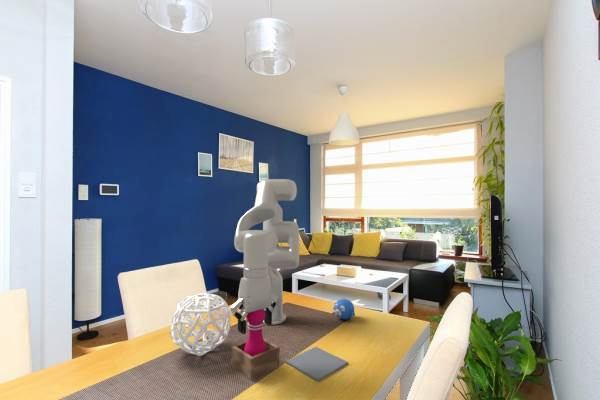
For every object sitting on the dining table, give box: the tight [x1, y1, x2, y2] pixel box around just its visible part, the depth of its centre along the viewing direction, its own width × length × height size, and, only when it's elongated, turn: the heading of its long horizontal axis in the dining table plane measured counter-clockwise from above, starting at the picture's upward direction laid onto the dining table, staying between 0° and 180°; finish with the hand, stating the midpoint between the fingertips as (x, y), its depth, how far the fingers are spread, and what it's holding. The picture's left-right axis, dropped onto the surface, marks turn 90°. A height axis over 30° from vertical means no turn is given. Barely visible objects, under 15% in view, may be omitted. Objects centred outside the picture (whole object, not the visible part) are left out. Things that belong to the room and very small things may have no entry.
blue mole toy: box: [331, 298, 356, 320], centre depth 132 cm, size 12×12×8 cm
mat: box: [285, 346, 349, 382], centre depth 96 cm, size 14×14×1 cm
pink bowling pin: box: [244, 309, 267, 357], centre depth 95 cm, size 7×7×20 cm
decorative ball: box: [169, 292, 232, 357], centre depth 104 cm, size 20×20×19 cm
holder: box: [230, 337, 281, 381], centre depth 95 cm, size 11×11×6 cm
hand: (255, 328), depth 94 cm, fingers open, 9 cm apart
